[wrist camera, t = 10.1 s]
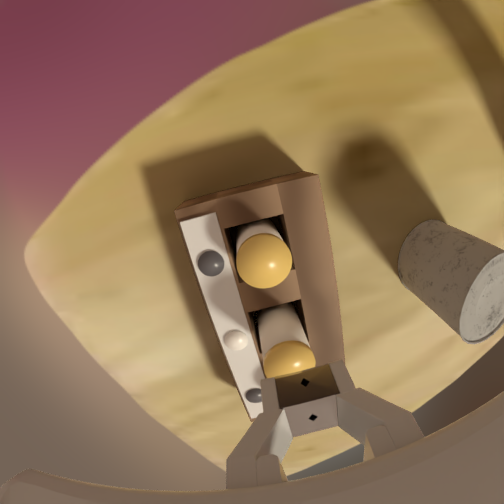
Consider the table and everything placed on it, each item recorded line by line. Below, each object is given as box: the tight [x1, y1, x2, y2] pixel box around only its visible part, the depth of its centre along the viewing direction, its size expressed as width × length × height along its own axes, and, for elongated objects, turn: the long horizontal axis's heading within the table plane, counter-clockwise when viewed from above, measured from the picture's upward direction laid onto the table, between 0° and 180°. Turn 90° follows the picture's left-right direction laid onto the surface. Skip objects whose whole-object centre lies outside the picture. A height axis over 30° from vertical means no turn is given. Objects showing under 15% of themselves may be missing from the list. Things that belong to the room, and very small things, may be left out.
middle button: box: [257, 302, 316, 378], centre depth 26 cm, size 4×4×8 cm
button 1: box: [236, 218, 292, 288], centre depth 26 cm, size 4×4×8 cm
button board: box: [174, 171, 345, 422], centre depth 30 cm, size 12×26×5 cm, turn 14°
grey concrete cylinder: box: [398, 220, 504, 344], centre depth 26 cm, size 10×10×12 cm
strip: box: [180, 212, 265, 419], centre depth 27 cm, size 3×24×1 cm, turn 14°
